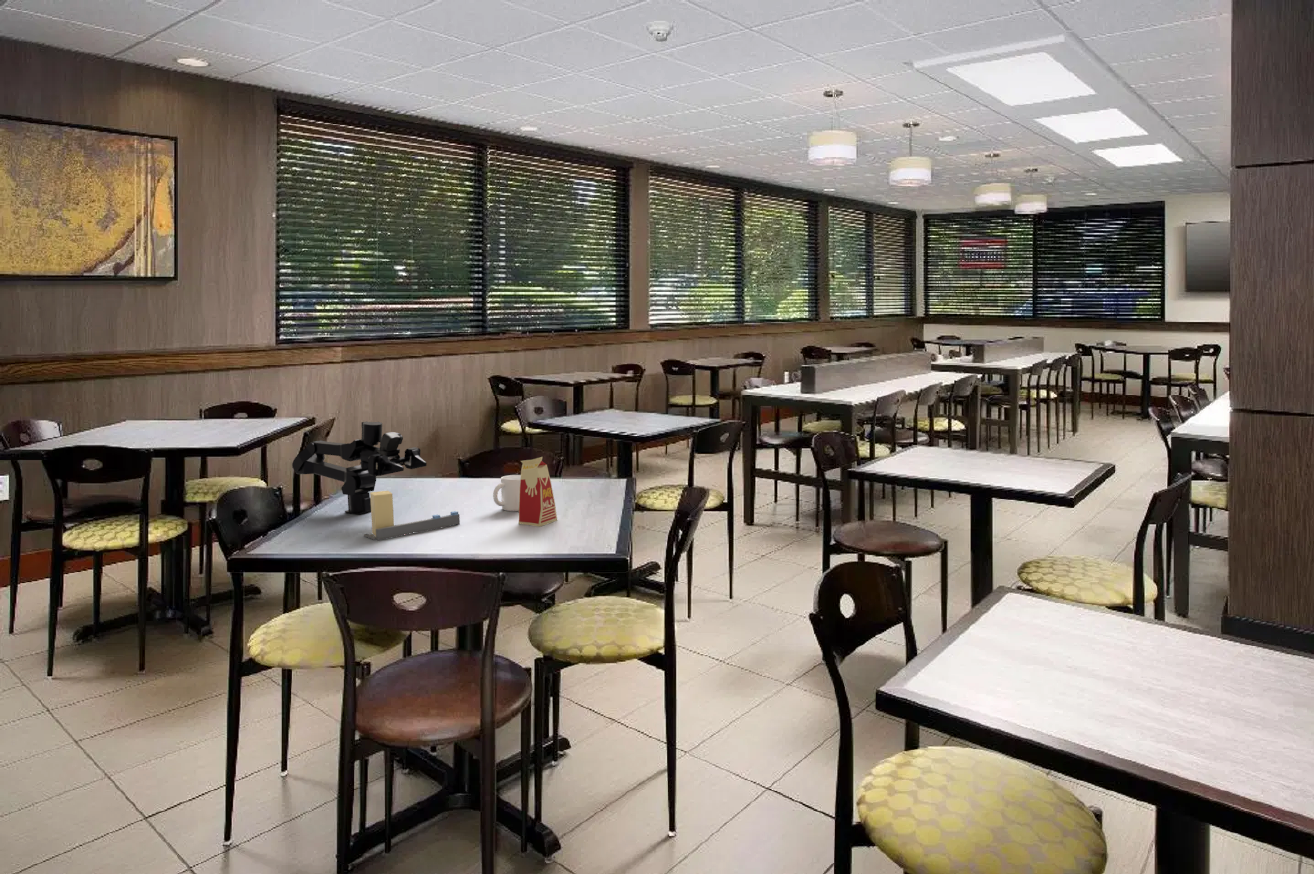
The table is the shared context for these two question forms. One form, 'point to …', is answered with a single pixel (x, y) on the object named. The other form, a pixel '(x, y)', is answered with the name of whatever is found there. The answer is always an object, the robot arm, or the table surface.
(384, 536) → the gray bench frame
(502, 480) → the mug
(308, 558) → the table surface
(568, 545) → the table surface
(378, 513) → the wooden block
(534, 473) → the milk carton
